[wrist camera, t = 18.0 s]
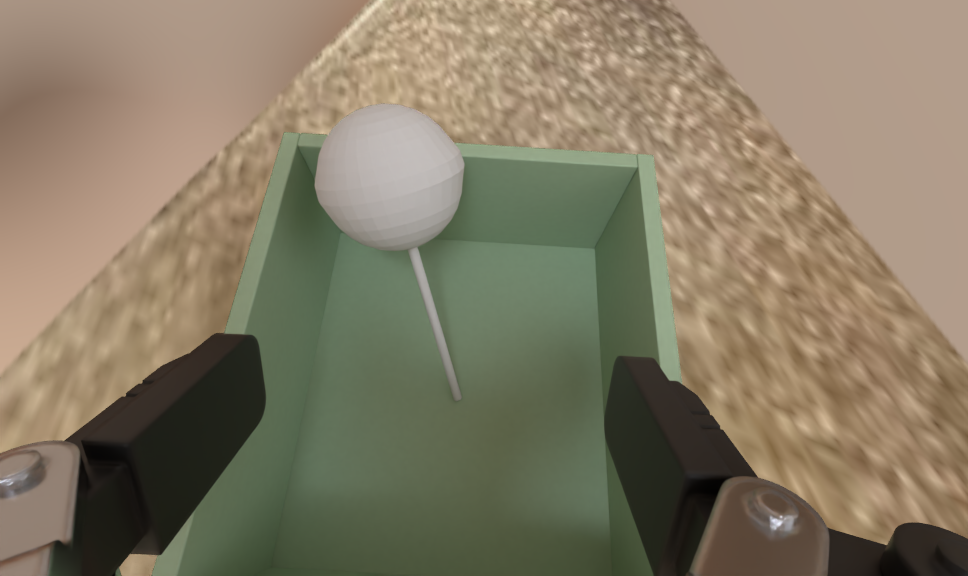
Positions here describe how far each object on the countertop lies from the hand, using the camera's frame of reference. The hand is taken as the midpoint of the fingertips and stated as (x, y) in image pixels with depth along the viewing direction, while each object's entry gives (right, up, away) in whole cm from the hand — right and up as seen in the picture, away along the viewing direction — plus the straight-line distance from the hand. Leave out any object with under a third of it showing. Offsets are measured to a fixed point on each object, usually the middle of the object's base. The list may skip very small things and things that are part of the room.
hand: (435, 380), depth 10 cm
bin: (0, -4, +15) cm, 16 cm away
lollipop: (0, -4, +14) cm, 15 cm away
